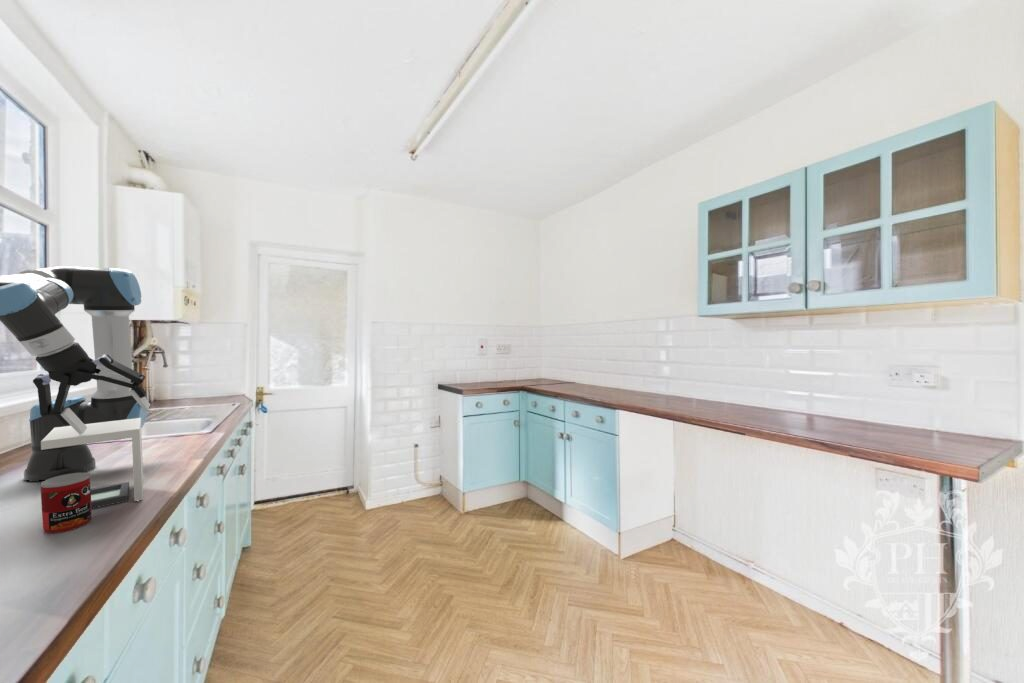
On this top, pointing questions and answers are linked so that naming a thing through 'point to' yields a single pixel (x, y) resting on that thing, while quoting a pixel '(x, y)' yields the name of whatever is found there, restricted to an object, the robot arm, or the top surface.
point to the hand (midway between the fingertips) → (116, 419)
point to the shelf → (104, 433)
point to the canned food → (66, 502)
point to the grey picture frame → (109, 494)
